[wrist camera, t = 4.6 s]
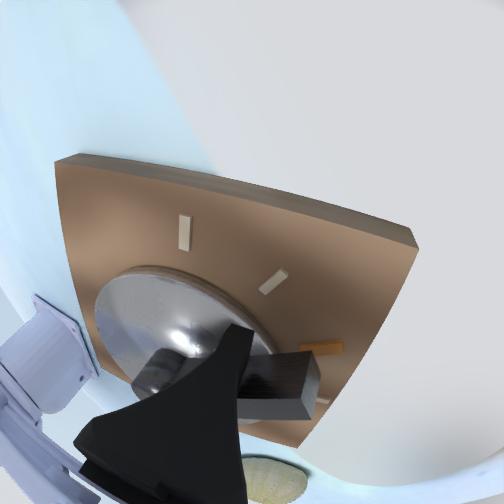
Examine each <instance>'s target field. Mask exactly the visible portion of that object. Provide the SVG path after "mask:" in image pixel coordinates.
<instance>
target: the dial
mask: <svg viewBox="0 0 504 504" xmlns="http://www.w3.org/2000/svg"><path fill="white" fill-rule="evenodd" d="M95 321H96V325H97V329H98V332H99V334H100V337H101V339H102V341H103V343H104V345H105V347H106V349H107V350H108V352H109V354H110V355H111V357H112V358H113V359H114V361H115V362H116V363H117V365H118V366H119V367H120V368H121V369H122V371H123V372H124V373H125V374H126V375H127V376H128V377H129V378H130V379H131V380H132V381H133V382H132V383H131V387H132V390H133V391H134V393H135V394H136V396H137V397H138V398H139V399H140V400H143V399H145V398H148V397H150V396H151V395H153V394H155V393H157V392H159V391H161V390H162V389H164V388H166V387H168V386H169V385H171V384H173V383H174V382H176V381H177V380H179V379H180V378H182V377H183V376H185V375H186V374H187V373H189V372H190V371H191V370H193V369H194V368H195V367H196V366H198V365H199V364H200V363H202V362H203V361H204V360H205V359H206V358H207V357H209V356H210V355H211V354H212V353H213V352H214V351H215V350H216V349H217V347H218V344H219V342H220V340H221V338H222V336H223V334H224V333H225V331H226V330H227V329H228V327H229V326H230V325H231V323H233V324H236V325H239V326H242V327H245V328H249V329H252V330H255V333H254V338H253V343H252V347H251V352H250V356H249V361H248V364H247V367H246V369H245V372H244V374H243V377H242V380H241V382H240V384H239V386H238V388H237V417H238V425H246V424H252V423H255V422H259V421H261V420H312V417H313V412H314V408H315V403H316V398H317V393H318V388H319V383H320V378H321V372H320V369H319V367H318V364H317V362H316V359H315V357H314V354H313V351H312V350H309V351H300V352H290V353H280V351H279V349H278V347H277V345H276V344H275V342H274V340H273V339H272V337H271V336H270V335H269V333H268V332H267V331H266V329H265V328H264V327H263V326H262V325H261V324H260V323H259V322H258V321H257V320H256V319H255V317H254V316H253V315H251V314H250V313H249V312H248V311H247V310H246V309H245V308H243V307H242V306H241V305H240V304H239V303H237V302H236V301H234V300H233V299H232V298H230V297H229V296H228V295H226V294H225V293H223V292H221V291H220V290H218V289H216V288H215V287H213V286H211V285H209V284H207V283H205V282H203V281H201V280H199V279H197V278H195V277H192V276H190V275H187V274H184V273H182V272H179V271H175V270H171V269H167V268H161V267H152V266H148V267H136V268H131V269H128V270H126V271H123V272H121V273H120V274H118V275H117V276H116V277H114V278H113V279H112V280H111V281H110V282H109V283H107V284H106V285H105V286H104V287H103V288H102V289H101V291H100V292H99V294H98V296H97V298H96V302H95Z"/></svg>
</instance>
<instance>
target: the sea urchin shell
mask: <svg viewBox="0 0 504 504" xmlns="http://www.w3.org/2000/svg"><path fill="white" fill-rule="evenodd" d="M242 464H243V469H244V475H245V480H246V484H247V498H248V499H250V500H252V501H256V502H259V503H262V504H287V503H291V502H292V501H295V500H296V499H297V498H298V497H300V496H301V495H302V494H304V491H305V490H306V487H307V479H308V478H307V477H306V475H305V473H304V472H303V471H302V470H300V469H297V468H295V467H293V466H291V465H287V464H285V463H283V462H280V461H275V460H273V459H268V458H257V457H252V458H242Z"/></svg>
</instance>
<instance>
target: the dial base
mask: <svg viewBox="0 0 504 504" xmlns="http://www.w3.org/2000/svg"><path fill="white" fill-rule="evenodd" d="M54 164H55V177H56V188H57V197H58V205H59V212H60V219H61V225H62V231H63V237H64V242H65V248H66V253H67V257H68V262H69V266H70V271H71V275H72V279H73V283H74V287H75V291H76V294H77V298H78V302H79V305H80V308H81V312H82V315H83V318H84V321H85V325H86V328H87V331H88V334H89V337H90V339H91V342H92V345H93V348H94V351H95V353H96V356H97V359H98V361H99V364H100V366H101V368H103V369H105V370H106V371H108V372H110V373H112V374H113V375H115V376H117V377H119V378H120V379H122V380H124V381H126V382H127V383H129V384H131V383H132V382H133V381H132V380H131V379H130V378H129V377H128V376H127V375H126V374H125V373H124V372H123V371H122V369H121V368H120V367H119V366H118V365H117V363H116V362H115V361H114V359H113V358H112V357H111V355H110V354H109V352H108V350H107V349H106V347H105V345H104V343H103V341H102V339H101V337H100V334H99V332H98V329H97V325H96V321H95V302H96V298H97V296H98V294H99V292H100V291H101V289H102V288H103V287H104V286H105V285H106V284H107V283H109V282H110V281H111V280H112V279H113V278H114V277H116V276H117V275H118V274H120V273H121V272H123V271H126V270H128V269H131V268H136V267H148V266H152V267H161V268H167V269H171V270H175V271H179V272H182V273H184V274H187V275H190V276H192V277H195V278H197V279H199V280H201V281H203V282H205V283H207V284H209V285H211V286H213V287H215V288H216V289H218V290H220V291H221V292H223V293H225V294H226V295H228V296H229V297H230V298H232V299H233V300H234V301H236V302H237V303H239V304H240V305H241V306H242V307H243V308H245V309H246V310H247V311H248V312H249V313H250V314H251V315H253V316H254V317H255V319H256V320H257V321H258V322H259V323H260V324H261V325H262V326H263V327H264V328H265V329H266V331H267V332H268V333H269V335H270V336H271V337H272V339H273V340H274V342H275V344H276V345H277V347H278V349H279V351H280V353H290V352H300V351H309V350H312V351H313V354H314V357H315V359H316V362H317V364H318V367H319V369H320V372H321V378H320V383H319V388H318V393H317V398H316V403H315V408H314V412H313V417H312V420H261V421H259V422H255V423H252V424H246V425H238V431H239V432H242V433H245V434H248V435H251V436H255V437H258V438H261V439H264V440H268V441H271V442H275V443H278V444H282V445H286V446H290V447H294V448H298V447H299V445H300V444H301V443H302V442H303V441H304V439H305V438H306V437H307V436H308V434H309V433H310V432H311V431H312V430H313V428H314V427H315V426H316V424H317V423H318V422H319V420H320V419H321V418H322V417H323V415H324V414H325V412H326V411H327V410H328V409H329V407H330V406H331V404H332V403H333V402H334V400H335V399H336V397H337V396H338V395H339V393H340V392H341V390H342V389H343V387H344V386H345V384H346V383H347V382H348V380H349V378H350V377H351V376H352V374H353V372H354V371H355V369H356V368H357V366H358V365H359V363H360V362H361V360H362V358H363V357H364V355H365V353H366V352H367V350H368V348H369V347H370V345H371V344H372V342H373V340H374V338H375V337H376V335H377V333H378V331H379V330H380V328H381V326H382V324H383V323H384V321H385V319H386V317H387V315H388V313H389V311H390V310H391V307H392V306H393V304H394V302H395V300H396V298H397V296H398V294H399V292H400V290H401V288H402V286H403V284H404V282H405V280H406V277H407V275H408V273H409V271H410V269H411V267H412V265H413V262H414V260H415V258H416V255H417V253H418V251H419V248H418V245H417V243H416V241H415V239H414V236H413V234H412V232H411V230H410V228H408V227H405V226H402V225H399V224H396V223H393V222H390V221H387V220H384V219H380V218H377V217H374V216H371V215H368V214H364V213H361V212H358V211H354V210H351V209H347V208H344V207H340V206H337V205H333V204H330V203H326V202H323V201H319V200H315V199H311V198H308V197H304V196H300V195H296V194H293V193H289V192H285V191H281V190H277V189H272V188H268V187H264V186H260V185H256V184H251V183H247V182H243V181H238V180H234V179H229V178H224V177H220V176H215V175H210V174H205V173H200V172H195V171H190V170H184V169H179V168H174V167H168V166H162V165H157V164H151V163H144V162H138V161H132V160H125V159H118V158H111V157H104V156H96V155H88V154H80V153H79V154H76V155H73V156H70V157H67V158H64V159H61V160H58V161H55V162H54Z"/></svg>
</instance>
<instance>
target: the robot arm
mask: <svg viewBox="0 0 504 504" xmlns="http://www.w3.org/2000/svg"><path fill="white" fill-rule="evenodd" d="M32 301H33V303H34V306H35V308H36V311H37V314H36V315H35V316H34V317H32V318H31V319H30V320H29V321H28V322H27V323H26V324H25V325H23V326H22V327H21V328H20V329H19V330H18V331H17V332H16V333H15V334H14V335H13V336H11V338H9V339H8V340H7V341H6V342H5V343H4V344H3V345H2V346H1V347H0V466H2V467H3V468H4V469H5V471H6V472H7V473H8V474H9V476H10V477H11V478H12V479H13V480H14V482H15V483H16V484H17V485H18V486H19V488H20V489H21V490H22V491H23V492H24V493H25V494H26V495H27V497H28V498H29V499H30V500H31V501H32V502H33V503H34V504H98V503H99V502H100V500H101V498H100V497H99V496H98V495H96V494H95V493H93V492H92V491H91V490H89V489H87V488H86V487H85V486H83V485H81V484H80V483H79V482H77V481H76V480H74V479H73V478H71V477H70V475H69V471H68V469H69V470H70V471H71V472H73V473H74V474H75V475H77V476H78V477H80V478H81V479H82V480H84V481H85V482H87V483H88V484H90V485H91V486H93V487H94V488H96V489H97V490H99V491H100V492H102V493H103V494H105V495H107V496H108V497H110V498H111V499H113V500H115V501H116V502H119V503H120V504H248V498H247V484H246V480H245V475H244V469H243V464H242V457H241V451H240V442H239V432H238V417H237V388H238V386H239V384H240V382H241V380H242V377H243V374H244V372H245V369H246V367H247V364H248V361H249V356H250V352H251V347H252V343H253V338H254V333H255V330H252V329H249V328H245V327H242V326H239V325H236V324H233V323H231V325H230V326H229V327H228V329H227V330H226V331H225V333H224V334H223V336H222V338H221V340H220V342H219V344H218V347H217V349H216V350H215V351H214V352H213V353H212V354H211V355H210V356H209V357H207V358H206V359H205V360H204V361H203V362H202V363H200V364H199V365H198V366H196V367H195V368H194V369H193V370H191V371H190V372H189V373H187V374H186V375H185V376H183V377H182V378H180V379H179V380H177V381H176V382H174V383H173V384H171V385H169V386H168V387H166V388H164V389H162V390H161V391H159V392H157V393H155V394H153V395H151V396H150V397H148V398H145V399H143V400H141V401H139V402H137V403H134V404H132V405H129V406H127V407H125V408H122V409H119V410H117V411H113V412H110V413H107V414H104V415H101V416H97V417H94V418H93V419H92V420H91V421H90V422H89V423H88V424H87V425H86V426H85V427H84V428H83V429H82V430H81V432H80V433H79V434H78V436H77V437H76V439H75V440H74V441H73V443H74V446H75V447H76V448H77V449H78V450H79V451H80V452H81V453H82V454H83V455H84V456H85V457H86V458H87V460H86V461H85V463H84V464H82V463H81V462H80V461H78V460H77V459H75V458H74V457H73V456H71V455H70V454H69V453H67V452H66V451H65V450H64V449H62V448H61V447H60V446H58V445H57V444H56V443H55V442H53V441H52V440H51V439H50V438H49V437H48V436H46V435H45V434H44V433H43V432H42V419H41V416H42V414H43V413H46V414H53V413H57V412H59V411H61V410H62V409H63V408H65V406H66V405H67V404H68V403H69V402H70V400H71V399H72V398H73V397H74V396H75V394H76V393H77V392H78V391H79V390H80V388H81V387H82V386H83V385H84V384H85V383H86V381H87V380H88V379H89V378H90V377H92V378H94V379H97V378H98V375H97V373H96V371H95V368H94V366H93V364H92V361H91V359H90V356H89V354H88V351H87V349H86V346H85V344H84V341H83V338H82V336H81V333H80V330H79V327H78V325H77V324H76V322H74V321H73V320H71V319H70V318H68V317H66V316H65V315H63V314H62V313H60V312H59V311H57V310H56V309H54V308H53V307H51V306H50V305H48V304H47V303H45V302H44V301H43V300H41V299H40V298H38V297H37V296H36V295H33V296H32ZM42 412H43V413H42Z"/></svg>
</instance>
